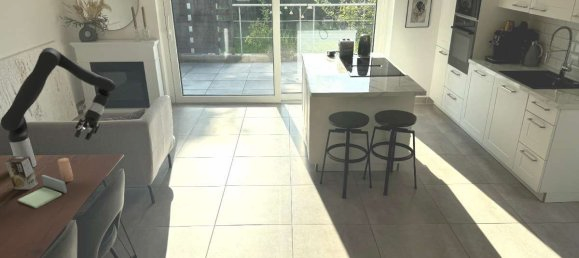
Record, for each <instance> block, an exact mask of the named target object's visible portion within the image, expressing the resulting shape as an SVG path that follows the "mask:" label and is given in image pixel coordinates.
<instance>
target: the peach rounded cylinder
mask: <svg viewBox="0 0 579 258" xmlns="http://www.w3.org/2000/svg"><path fill="white" fill-rule="evenodd" d="M57 164H58V168H59V173H60V176H61V179H62V180H61V181H64V182H65V183H70V182H72V181H74V175H73V174H74V173H73V170H72V167H71V162H70V160H69V157H62V158H59V159H57Z"/></svg>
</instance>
